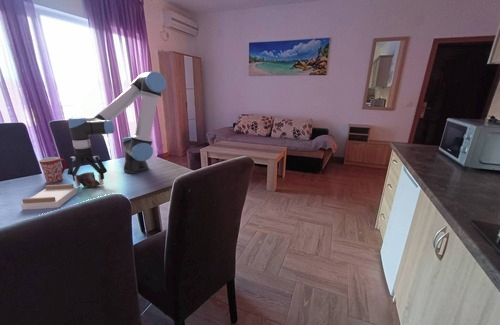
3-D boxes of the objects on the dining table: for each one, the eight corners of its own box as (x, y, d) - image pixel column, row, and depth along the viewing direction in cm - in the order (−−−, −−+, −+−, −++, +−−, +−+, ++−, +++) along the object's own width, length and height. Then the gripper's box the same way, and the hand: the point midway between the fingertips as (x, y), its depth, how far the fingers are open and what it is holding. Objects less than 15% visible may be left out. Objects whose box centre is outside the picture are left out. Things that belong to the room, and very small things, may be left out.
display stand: (77, 192, 117) (75, 183, 115) (58, 207, 102) (55, 197, 100) (46, 194, 114) (43, 185, 113) (22, 209, 99) (19, 199, 98)
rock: (98, 183, 132) (77, 187, 126) (96, 169, 131) (74, 172, 124) (102, 186, 124) (79, 191, 117) (99, 171, 122) (76, 175, 116)
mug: (52, 184, 126) (46, 162, 122) (40, 182, 128) (34, 160, 124) (74, 177, 137) (69, 156, 133) (63, 175, 140) (58, 154, 136)
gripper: (109, 145, 124) (115, 181, 130) (61, 146, 119) (70, 183, 126) (104, 148, 117) (110, 186, 123) (52, 149, 112) (62, 189, 119)
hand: (90, 185), depth 125 cm, fingers closed on rock, 11 cm apart
